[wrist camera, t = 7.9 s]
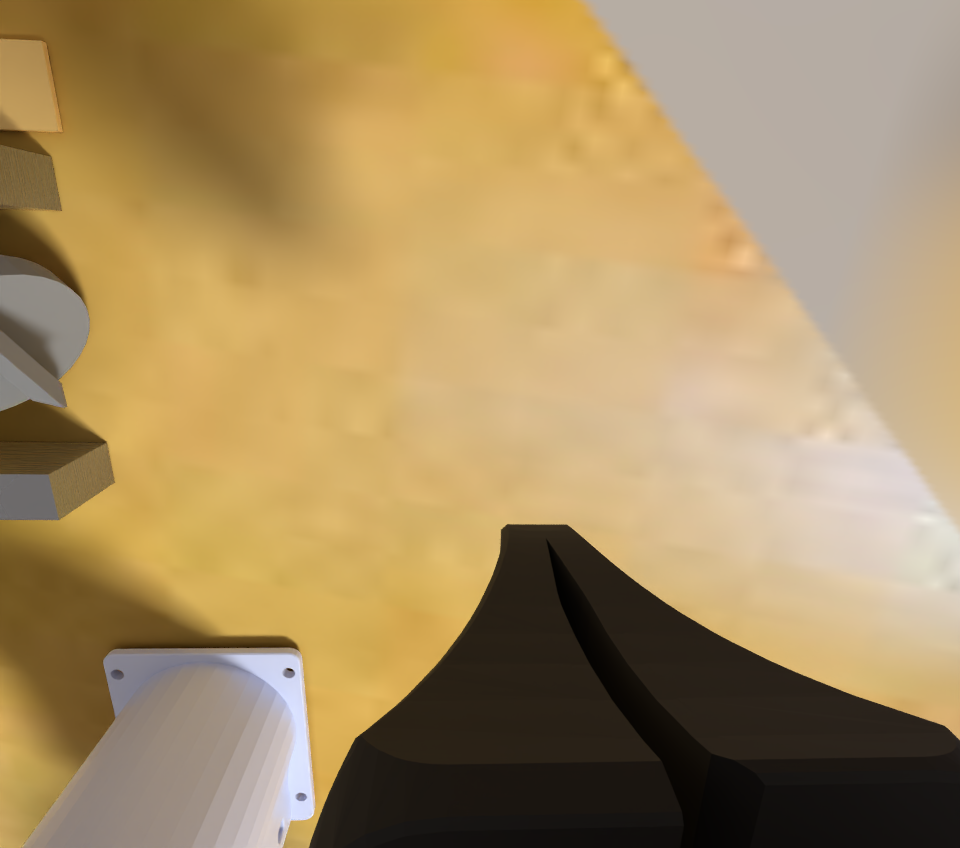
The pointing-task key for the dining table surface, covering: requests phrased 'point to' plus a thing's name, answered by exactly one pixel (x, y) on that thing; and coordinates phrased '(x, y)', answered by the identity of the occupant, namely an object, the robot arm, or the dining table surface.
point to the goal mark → (27, 88)
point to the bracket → (43, 465)
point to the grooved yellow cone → (37, 333)
